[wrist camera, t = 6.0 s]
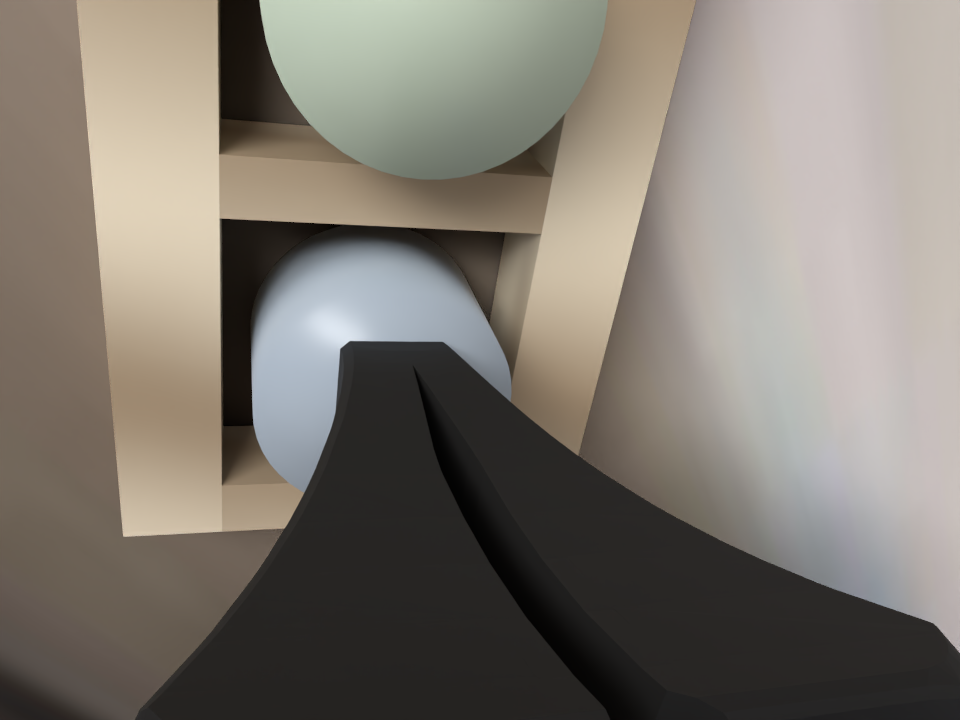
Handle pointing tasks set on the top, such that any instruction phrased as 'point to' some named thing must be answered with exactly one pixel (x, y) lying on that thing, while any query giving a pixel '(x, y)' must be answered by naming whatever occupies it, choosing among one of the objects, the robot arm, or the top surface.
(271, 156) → the button panel
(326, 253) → the slate button
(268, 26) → the sage button
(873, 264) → the top surface
